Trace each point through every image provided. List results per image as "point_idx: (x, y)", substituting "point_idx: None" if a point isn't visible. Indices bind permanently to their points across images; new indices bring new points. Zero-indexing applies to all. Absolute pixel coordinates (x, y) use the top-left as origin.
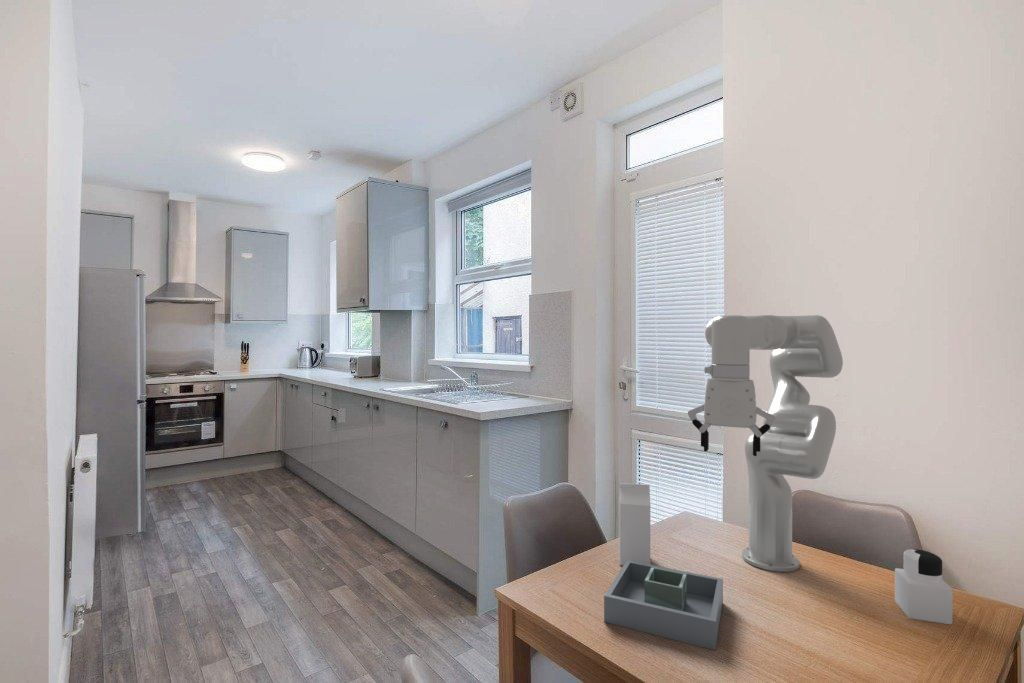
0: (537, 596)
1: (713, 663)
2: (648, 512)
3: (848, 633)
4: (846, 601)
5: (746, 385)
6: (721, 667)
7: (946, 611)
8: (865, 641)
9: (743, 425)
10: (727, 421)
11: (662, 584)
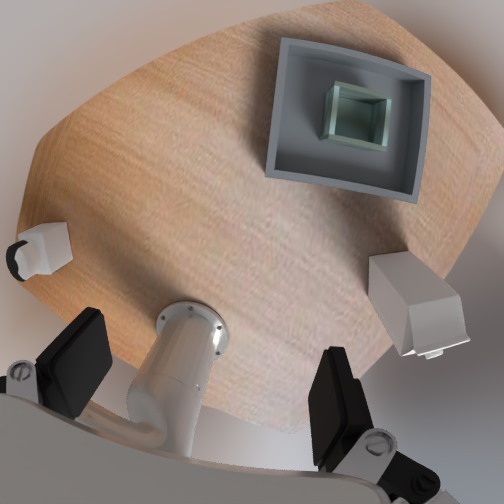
0: (486, 132)
1: (283, 27)
2: (406, 298)
3: (120, 155)
4: (112, 241)
5: None
6: (274, 23)
7: (36, 226)
8: (108, 145)
9: (37, 416)
10: (156, 491)
11: (364, 88)
